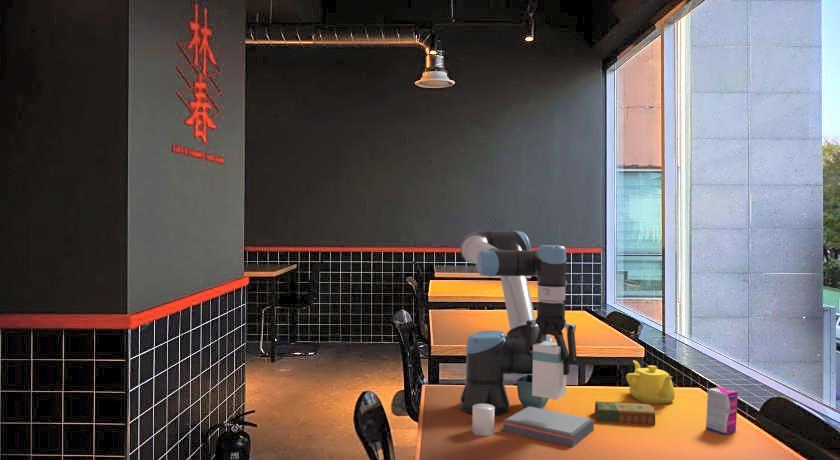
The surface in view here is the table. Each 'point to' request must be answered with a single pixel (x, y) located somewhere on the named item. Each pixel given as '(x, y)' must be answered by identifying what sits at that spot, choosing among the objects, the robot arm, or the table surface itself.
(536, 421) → the podium
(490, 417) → the white rounded capsule
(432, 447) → the table surface
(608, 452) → the table surface
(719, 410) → the supplement box
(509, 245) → the robot arm
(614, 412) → the carton
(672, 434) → the table surface
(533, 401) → the flower pot
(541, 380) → the carton
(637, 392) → the teapot
